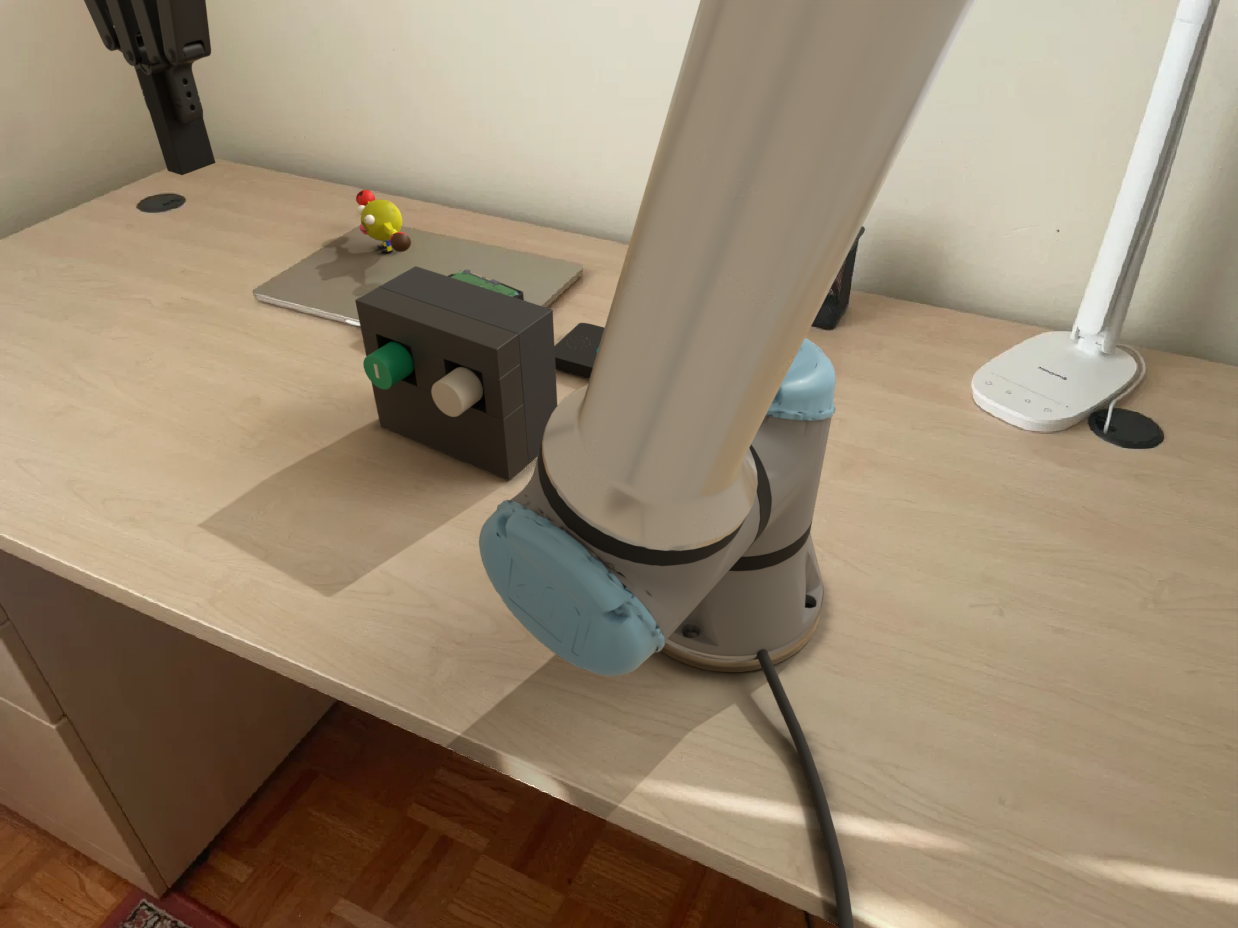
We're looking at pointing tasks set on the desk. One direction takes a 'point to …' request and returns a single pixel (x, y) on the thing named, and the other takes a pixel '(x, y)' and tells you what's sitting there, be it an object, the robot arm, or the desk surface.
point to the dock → (475, 339)
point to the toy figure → (382, 222)
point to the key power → (388, 365)
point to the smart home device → (578, 350)
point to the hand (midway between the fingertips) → (191, 166)
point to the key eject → (457, 391)
